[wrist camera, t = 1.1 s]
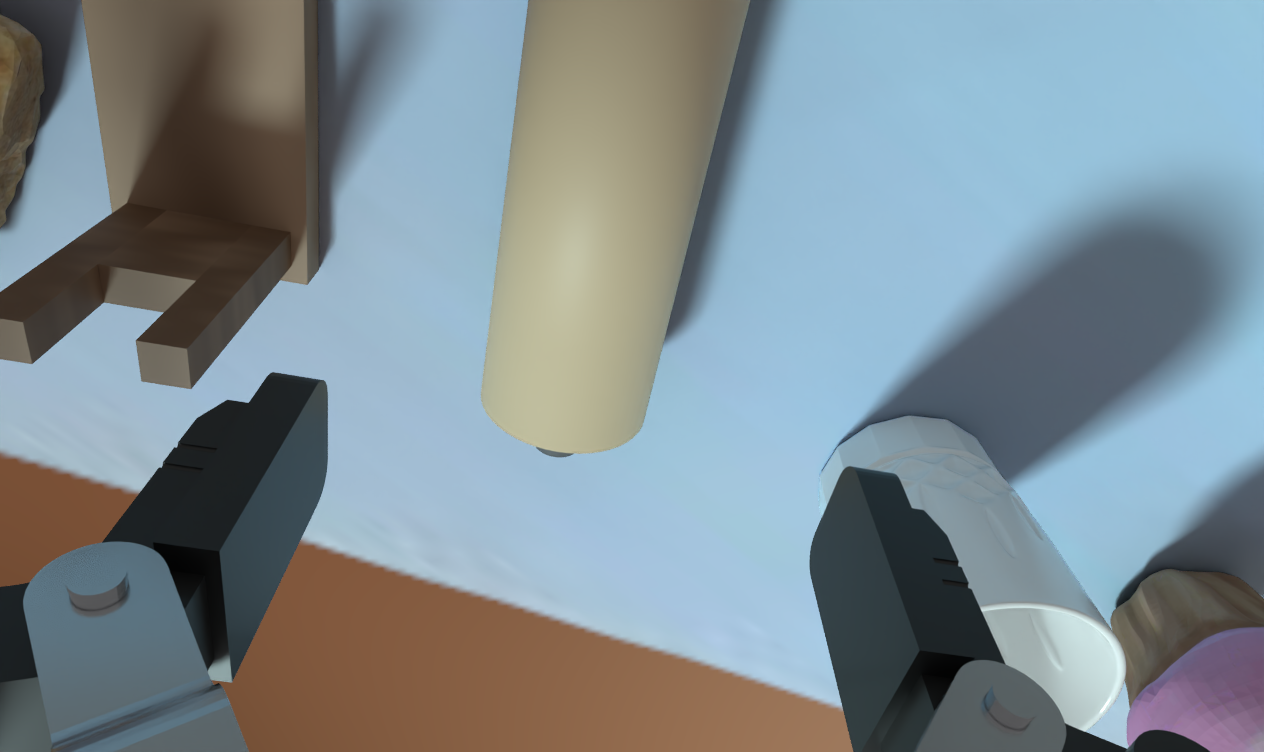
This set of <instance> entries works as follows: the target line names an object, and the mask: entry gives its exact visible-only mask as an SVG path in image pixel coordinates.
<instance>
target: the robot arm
mask: <svg viewBox="0 0 1264 752" xmlns="http://www.w3.org/2000/svg"><path fill="white" fill-rule="evenodd" d="M327 462H328V392H327V385H326V382H325V381H324V380H318V379H312V378H305V377H299V376H293V375H287V374H281V373H274V372H272V373H270V374H269V375H268V376H267V377H266V379H265V380H264V382H263V383H262V385H261V386H260V388H259V389H258V390H257V392H256V393H255V395H254V396H253V398H252V399H251V401H250V402H249V403H245V402H238V401H232V400H226V401H225V402H223V403H221V404H220V405H218V406H216V407H215V408H213V409H211V410H210V411H208V412H206V413H205V414H203V415H202V416H200V417H198V418H197V419H196V420H195V421H194V423H193V424H192V425H191V426H190V428H189V429H188V430H187V432H186V433H185V434H184V436H183V437H182V438H181V440H180V441H179V442H178V447H177V448H175V447H174V449H173V450H172V451H171V453H170V454H169V455H168V457H167V458H166V459H165V461H164V462H163V466H162V468H158V470H157V471H156V472H155V474H154V475H153V476H152V478H151V479H150V480H149V482H148V483H147V484H146V485H145V487H144V488H143V489H142V491H141V492H140V493H139V495H138V496H137V497H136V499H135V500H134V501H133V502H132V504H131V505H130V506H129V508H128V509H127V510H126V512H125V513H124V514H123V516H122V517H121V518H120V520H119V521H118V522H117V523H116V525H115V526H114V527H113V529H112V530H111V531H110V533H109V534H108V535H107V537H106V538H105V539H104V541H103V542H102V543H97V544H93V545H88V546H85V547H82V548H79V549H76V550H73V551H71V552H69V553H66V554H64V555H62V556H60V557H58V558H57V559H55V560H53V561H52V562H50V563H49V564H48V565H46V566H45V567H44V568H42V569H41V570H40V571H39V572H38V573H37V574H36V575H35V576H34V578H33V579H32V581H31V582H29V583H25V584H20V585H13V586H5V587H0V752H249V751H248V748H247V746H246V743H245V741H244V738H243V736H242V733H241V730H240V728H239V726H238V723H237V720H236V718H235V715H234V712H233V710H232V707H231V705H230V702H229V700H228V697H227V695H226V693H225V691H224V689H223V687H222V686H221V685H220V684H219V683H218V684H216V685H213V683H212V681H211V680H217V681H225V682H232V681H233V679H234V677H235V675H236V673H237V671H238V669H239V666H240V664H241V662H242V660H243V658H244V656H245V654H246V652H247V650H248V648H249V646H250V644H251V642H252V640H253V637H254V635H255V633H256V631H257V629H258V627H259V625H260V623H261V621H262V619H263V617H264V614H265V613H266V610H267V608H268V606H269V604H270V602H271V600H272V598H273V596H274V594H275V592H276V590H277V588H278V586H279V583H280V581H281V579H282V577H283V575H284V573H285V571H286V569H287V567H288V564H289V563H290V560H291V558H292V556H293V554H294V552H295V550H296V548H297V546H298V544H299V542H300V540H301V538H302V535H303V533H304V531H305V529H306V527H307V525H308V523H309V521H310V519H311V517H312V515H313V513H314V510H315V508H316V506H317V504H318V502H319V499H320V497H321V494H322V491H323V487H324V483H325V478H326V472H327ZM958 563H959V560H958V558H957V556H956V554H955V552H954V549H953V547H952V545H951V543H950V541H949V538H948V536H947V535H946V534H945V532H944V531H943V530H942V529H941V528H940V527H939V526H938V525H937V524H936V523H935V522H934V520H933V519H932V518H931V517H930V516H929V515H928V514H927V513H926V512H925V511H924V510H921V509H914V508H912V507H911V505H910V502H909V500H908V497H907V495H906V493H905V490H904V488H903V486H902V483H901V481H900V479H899V477H898V476H897V475H896V474H895V473H889V472H883V471H877V470H871V469H865V468H858V467H852V466H848V467H846V468H845V469H844V470H843V471H842V473H841V474H840V476H839V479H838V481H837V483H836V486H835V488H834V490H833V493H832V495H831V497H830V500H829V502H828V504H827V507H826V509H825V511H824V514H823V516H822V518H821V521H820V523H819V525H818V528H817V530H816V532H815V535H814V538H813V541H812V545H811V551H810V574H811V579H812V583H813V587H814V591H815V596H816V600H817V604H818V608H819V612H820V616H821V620H822V624H823V628H824V633H825V637H826V641H827V645H828V649H829V653H830V657H831V661H832V665H833V670H834V674H835V678H836V682H837V686H838V690H839V694H840V698H841V702H842V707H843V711H844V715H845V719H846V723H847V727H848V731H849V735H850V739H851V744H852V747H853V751H854V752H1210V751H1209V750H1208V749H1206V748H1205V747H1203V746H1201V745H1200V744H1198V743H1197V742H1195V741H1193V740H1191V739H1189V738H1187V737H1185V736H1182V735H1180V734H1177V733H1174V732H1170V731H1166V730H1149V731H1146V732H1143V733H1142V734H1141V735H1139V736H1138V737H1137V738H1136V740H1135V741H1134V742H1133V743H1132V744H1131V745H1130V747H1129V748H1128V749H1126V748H1123V747H1121V746H1119V745H1116V744H1114V743H1111V742H1109V741H1106V740H1104V739H1101V738H1099V737H1097V736H1094V735H1092V734H1089V733H1087V732H1084V731H1082V730H1079V729H1077V728H1075V727H1072V726H1070V725H1068V724H1066V723H1065V722H1064V719H1063V717H1062V714H1061V712H1060V710H1059V708H1058V707H1057V705H1056V704H1055V702H1054V701H1053V700H1052V698H1051V697H1050V696H1049V695H1048V693H1047V692H1046V691H1045V690H1044V689H1043V688H1042V687H1041V686H1040V685H1038V684H1037V683H1036V682H1035V681H1034V680H1032V679H1031V678H1029V677H1028V676H1027V675H1025V674H1024V673H1022V672H1020V671H1018V670H1017V669H1015V668H1012V667H1010V666H1008V665H1006V664H1005V661H1004V659H1003V657H1002V655H1001V653H1000V650H999V648H998V646H997V644H996V642H995V640H994V637H993V635H992V633H991V631H990V629H989V626H988V624H987V622H986V620H985V618H984V615H983V613H982V611H981V609H980V607H979V604H978V602H977V600H976V598H975V596H974V593H973V591H972V589H970V588H968V584H969V582H968V580H967V578H966V576H965V574H964V571H963V569H962V567H960V566H958Z"/></svg>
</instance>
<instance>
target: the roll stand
mask: <svg viewBox="0 0 1264 752" xmlns="http://www.w3.org/2000/svg"><path fill="white" fill-rule="evenodd" d="M81 2H82V9H83V16H84V23H85V29H86V36H87V43H88V50H89V57H90V64H91V71H92V78H93V84H94V91H95V98H96V105H97V112H98V119H99V126H100V133H101V139H102V146H103V153H104V160H105V167H106V174H107V181H108V188H109V194H110V201H111V208H112V214H111V215H109V216H108V217H106V218H105V219H103V220H102V221H101V222H99V223H98V224H96V225H95V226H93V227H92V228H91V229H89V230H88V231H86V232H85V233H84V234H82V235H81V236H79V237H78V238H76V239H75V240H74V241H72V242H71V243H69V244H68V245H66V246H65V247H64V248H62V249H61V250H59V251H58V252H57V253H55V254H54V255H52V256H51V257H49V258H48V259H47V260H45V261H44V262H42V263H41V264H39V265H38V266H37V267H35V268H34V269H32V270H31V271H30V272H28V273H27V274H25V275H24V276H22V277H21V278H20V279H18V280H17V281H15V282H14V283H13V284H11V285H10V286H8V287H7V288H5V289H4V290H3V291H1V292H0V359H3V360H10V361H16V362H22V363H29V364H33V363H34V362H35V361H36V360H37V359H39V358H40V357H41V356H42V355H43V354H44V353H46V352H47V351H48V350H49V349H50V348H51V347H53V346H54V345H55V344H56V343H57V342H58V341H59V340H61V339H62V338H63V337H64V336H65V335H66V334H68V333H69V332H70V331H71V330H72V329H73V328H75V327H76V326H77V325H78V324H79V323H80V322H82V321H83V320H84V319H85V318H86V317H87V316H89V315H90V314H91V313H92V312H93V311H94V310H95V309H97V308H98V307H99V306H100V305H101V304H102V303H104V302H105V303H111V304H117V305H123V306H129V307H135V308H141V309H147V310H153V311H159V312H164V313H163V314H162V315H161V316H160V317H159V318H158V319H157V320H156V321H155V322H154V323H153V324H152V325H151V326H150V327H149V328H148V329H147V330H146V331H145V332H144V333H143V334H142V335H141V336H140V337H139V338H138V339H137V340H136V345H137V353H138V360H139V367H140V374H141V381H143V382H149V383H156V384H162V385H168V386H175V387H181V388H187V389H192V387H193V386H194V385H195V384H196V382H197V381H198V380H199V379H200V378H201V376H202V375H203V374H204V373H205V371H206V370H207V369H208V368H209V367H210V365H211V364H212V363H213V362H214V360H215V359H216V358H217V357H218V356H219V354H220V353H221V352H222V351H223V349H224V348H225V347H226V346H227V344H228V343H229V342H230V341H231V340H232V338H233V337H234V336H235V335H236V333H237V332H238V331H239V330H240V329H241V327H242V326H243V325H244V324H245V322H246V321H247V320H248V319H249V317H250V316H251V315H252V314H253V313H254V311H255V310H256V309H257V308H258V306H259V305H260V304H261V303H262V302H263V300H264V299H265V298H266V297H267V295H268V294H269V293H270V292H271V290H272V289H273V288H274V287H275V286H276V284H277V283H278V282H279V281H280V280H282V281H288V282H294V283H300V284H305V285H308V283H309V282H310V281H311V279H312V278H313V277H314V275H315V274H316V273H317V271H318V270H319V165H318V0H81Z"/></svg>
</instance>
